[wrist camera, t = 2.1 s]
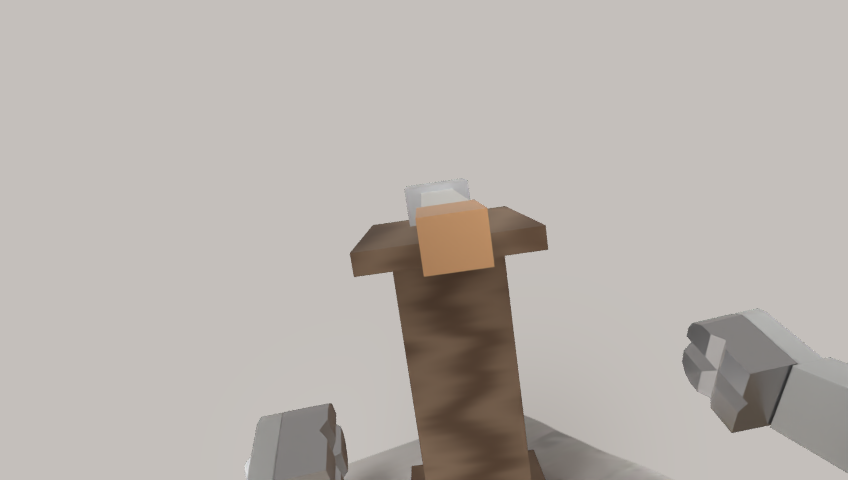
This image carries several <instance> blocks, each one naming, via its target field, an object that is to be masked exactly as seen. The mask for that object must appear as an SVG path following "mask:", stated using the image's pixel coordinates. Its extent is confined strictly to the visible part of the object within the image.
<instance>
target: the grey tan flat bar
mask: <svg viewBox="0 0 848 480" xmlns="http://www.w3.org/2000/svg"><path fill="white" fill-rule="evenodd" d="M405 196H406V202H407V209H408V216H409V223H410V227H411V226H417V233H418V240H419V247H420V254H421V261H422V267H423V274H424V277H426V276H433V275H440V274H447V273H454V272H461V271H468V270H475V269H483V268H490V267H495V266H494V258H493V250H492V241H491V233H490V225H489V217H488V209H487V208H486V207H485V206H483V205H482V204H480V203H479V202H477V201H475V200H470V196H469V188H468V180H465V179H456V180H448V181H441V182H435V183H427V184H420V185H414V186H406V188H405Z"/></svg>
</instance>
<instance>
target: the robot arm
mask: <svg viewBox="0 0 848 480" xmlns="http://www.w3.org/2000/svg"><path fill="white" fill-rule="evenodd" d="M687 337H688V338H689V339H690V341H691V344H689V346H688V347H687V348H686V349H685V350H684V354H683V360H682V362H683V366H684V370H685V373H686V376H687V377H688V379H689V381H690V383H691V384H692V385H693V387H694V388H695V389H696V390H697V392H700V393H701V394H703V395H705V396H708V397H710V398H711V409H712V410H713V411H714V412H715V413H716V414H717V416H718V417H719V418H720V419H721V421H722V422H723V423H724V424H725V425H726V426H727V428H728V429H729V430H730V431H731V433H734V432H739V431H744V430H749V429H753V428H758V427H763V426H768V425H771V426H770V428H772V429H774V430H776V431H777V432H779V433H781V434H783V435H784V436H786V437H787V438H789V439H791V440H793V441H795V442H796V443H798V444H799V445H801V446H803V447H804V448H806V449H808V450H810V451H811V452H813V453H815V454H816V455H818V456H820V457H821V458H823V459H825V460H827V461H828V462H830V463H831V464H833V465H835V466H837V467H838V468H840V469H842V470H843V471H845V472H847V473H848V364H847V363H844V362H842V361H839V360H836V359H833V358H831V357H829V358H824V359H823V358H822V357H821V356H820V355H818V354H817V353H816V352H815V351H813V350H812V349H811V348H810V347H809V346H807V345H806V344H805V343H804V342H802V341H801V340H800V339H799V338H797V337H796V336H795V335H794V334H793V333H791V332H790V331H789V330H788V329H787V328H785V327H784V326H783V325H782V324H781V323H779V322H778V321H777V320H776V319H774V318H773V317H772V316H771V315H770V314H768V313H767V312H766V311H764V310H761V309H758V308H757V309H753V310H748V311H744V312H740V313H736V314H730V315H725V316H721V317H717V318H712V319H708V320H704V321H699V322H695V323H692V324H691V326H690V327H689V328H688V333H687ZM347 472H348V458H347V450H346V443H345V439H344V434H343V431H342V429H341V427H340V426H338V425H336V412H335V410H334V408H333V405H332V404H324V405H319V406H314V407H308V408H303V409H298V410H293V411H288V412H284V413H279V414H274V415H269V416H264V417H261V418H260V420H259V422H258V424H257V428H256V433H255V439H254V444H253V450H252V455H251V460H250V465H249V471H248V476H247V480H344V479H343V478H344V477H345V475H346V473H347Z"/></svg>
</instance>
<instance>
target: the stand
mask: <svg viewBox="0 0 848 480" xmlns="http://www.w3.org/2000/svg"><path fill="white" fill-rule="evenodd" d="M488 217H489V225H490V233H491V241H492V250H493V258H494V266H495V267H490V268H483V269H475V270H468V271H461V272H454V273H447V274H440V275H433V276H426V277H424V274H423V267H422V261H421V254H420V247H419V240H418V233H417V226H411V227H410V223H409V220H406V221H399V222H392V223H385V224H378V225H373V226H372V227H371V228H370V229H369V231H368V232H367V233H366V234H365V236H364V237H363V238H362V239H361V240H360V242H359V243H358V244H357V245H356V246H355V248H354V249H353V250H352V251H351V253H350V257H351V262H352V268H353V274H354V277H357V276H364V275H371V274H379V273H386V272H393V275H394V282H395V289H396V295H397V301H398V307H399V314H400V320H401V327H402V333H403V340H404V345H405V352H406V359H407V365H408V371H409V378H410V384H411V390H412V397H413V403H414V409H415V416H416V422H417V429H418V435H419V442H420V448H421V454H422V461H423V465H417V466H412V474H411V480H545V477H544V475H543V472H542V470H541V467H540V465H539V462H538V460H537V457H536V455H535V452H534V450H528V448H527V440H526V432H525V423H524V415H523V407H522V398H521V390H520V382H519V373H518V364H517V357H516V349H515V341H514V340H515V339H514V332H513V324H512V315H511V306H510V297H509V289H508V281H507V272H506V265H505V255H512V254H519V253H527V252H534V251H541V250H548V244H547V235H546V226H545V225H543V224H542V223H539V222H537V221H535V220H533V219H531V218H529V217H527V216H525V215H522V214H520V213H518V212H516V211H514V210H512V209H510V208H508V207H505V206H503V207H496V208H490V209H488Z"/></svg>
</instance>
